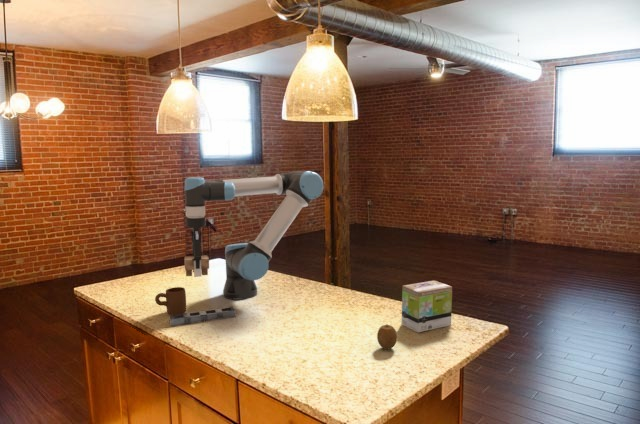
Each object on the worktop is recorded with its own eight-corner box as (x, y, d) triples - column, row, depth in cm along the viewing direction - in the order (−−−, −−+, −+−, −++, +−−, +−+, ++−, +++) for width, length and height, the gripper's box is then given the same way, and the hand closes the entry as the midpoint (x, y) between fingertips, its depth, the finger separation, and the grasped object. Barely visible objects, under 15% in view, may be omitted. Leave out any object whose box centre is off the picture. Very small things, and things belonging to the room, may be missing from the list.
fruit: (383, 354, 145) (383, 329, 144) (373, 347, 151) (373, 323, 150) (400, 350, 148) (400, 326, 147) (390, 343, 153) (390, 319, 152)
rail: (233, 312, 187) (232, 306, 186) (235, 316, 182) (235, 310, 182) (169, 322, 178) (169, 315, 178) (170, 326, 173) (170, 319, 173)
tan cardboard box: (207, 272, 192) (207, 255, 191) (209, 276, 185) (208, 258, 184) (184, 273, 189) (184, 256, 188) (185, 277, 182) (185, 260, 182)
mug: (159, 319, 181) (158, 295, 180) (153, 314, 187) (151, 291, 186) (189, 312, 188) (188, 289, 187) (182, 308, 194) (181, 285, 193)
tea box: (419, 334, 161) (419, 292, 159) (401, 324, 170) (400, 285, 168) (452, 325, 168) (452, 285, 166) (433, 317, 177) (433, 279, 175)
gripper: (184, 214, 193) (186, 269, 195) (186, 220, 174) (188, 281, 177) (203, 213, 195) (204, 268, 198) (207, 219, 176) (209, 279, 179)
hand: (197, 274), depth 187 cm, fingers closed on tan cardboard box, 7 cm apart
